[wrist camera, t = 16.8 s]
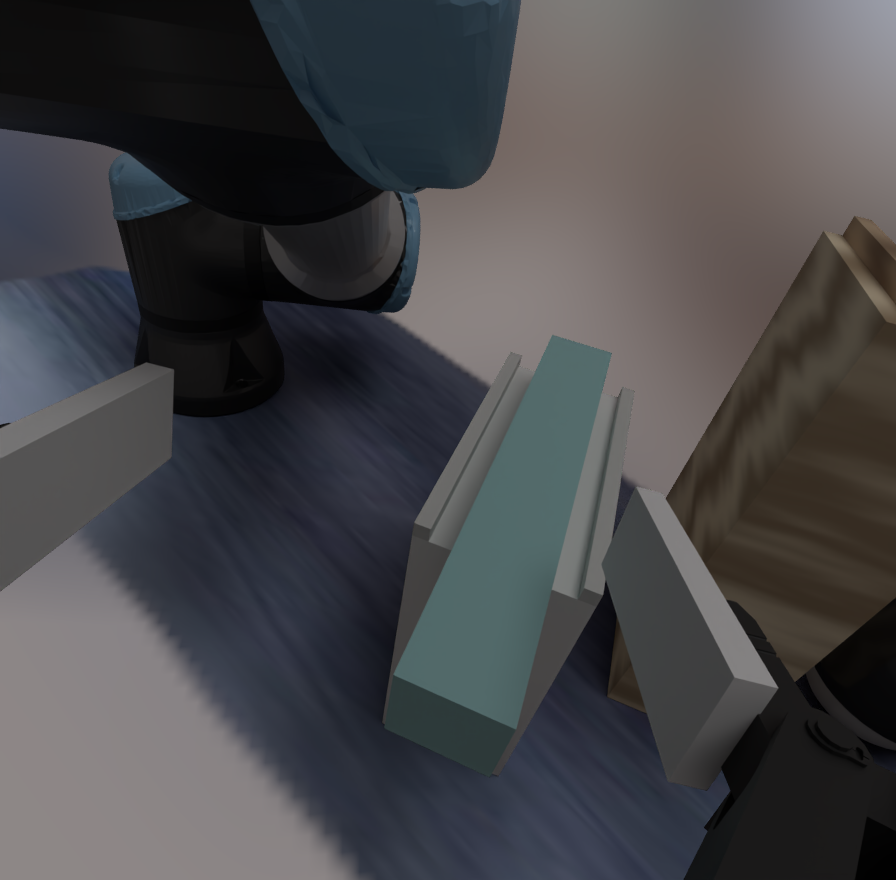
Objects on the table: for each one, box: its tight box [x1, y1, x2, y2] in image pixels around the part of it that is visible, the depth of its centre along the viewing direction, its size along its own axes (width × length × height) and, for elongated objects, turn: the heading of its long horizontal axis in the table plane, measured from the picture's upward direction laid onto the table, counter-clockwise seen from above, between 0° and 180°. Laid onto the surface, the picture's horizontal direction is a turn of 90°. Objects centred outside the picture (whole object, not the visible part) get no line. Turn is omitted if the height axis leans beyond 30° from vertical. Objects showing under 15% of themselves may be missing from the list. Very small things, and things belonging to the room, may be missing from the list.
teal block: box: [384, 335, 612, 777], centre depth 24 cm, size 22×4×4 cm, turn 160°
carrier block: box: [382, 352, 634, 776], centre depth 34 cm, size 16×8×20 cm, turn 160°
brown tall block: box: [607, 216, 896, 713], centre depth 32 cm, size 12×8×31 cm, turn 160°
